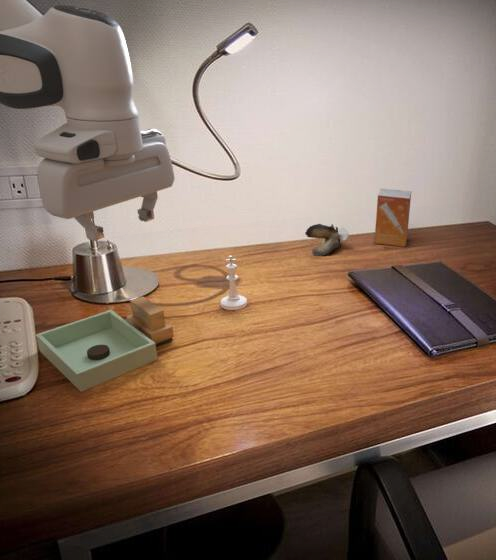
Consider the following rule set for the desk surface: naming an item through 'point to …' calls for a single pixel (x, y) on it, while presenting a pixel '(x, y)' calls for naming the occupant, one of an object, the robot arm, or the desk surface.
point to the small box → (392, 217)
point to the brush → (150, 321)
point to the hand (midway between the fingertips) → (122, 229)
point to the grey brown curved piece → (326, 237)
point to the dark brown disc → (98, 352)
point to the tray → (87, 333)
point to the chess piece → (233, 289)
